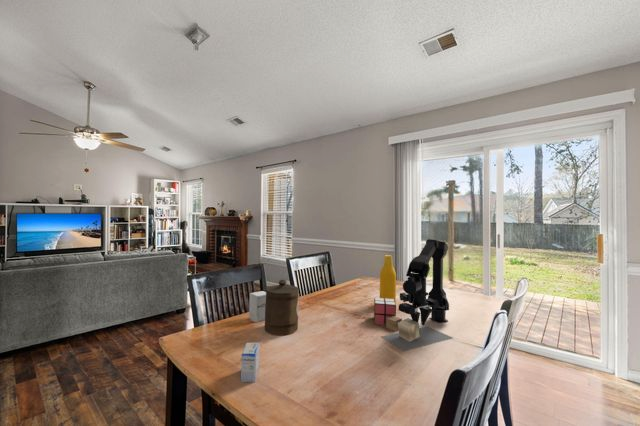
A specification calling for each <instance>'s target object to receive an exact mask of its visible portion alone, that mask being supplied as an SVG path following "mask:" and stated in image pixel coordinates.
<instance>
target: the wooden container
mask: <svg viewBox="0 0 640 426" xmlns="http://www.w3.org/2000/svg"><path fill="white" fill-rule="evenodd" d="M265 292H266V305H265V320H264V331H265V333H268V334H270V335H273V336H288V335H291V334H294V333H295V332H297V331H298V326H299V287H298V286H295V285H291V284H287V280H285V279H280V280H278V284H274V285H271V286H268V287H266V290H265Z"/></svg>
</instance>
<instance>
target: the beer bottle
mask: <svg viewBox="0 0 640 426" xmlns="http://www.w3.org/2000/svg"><path fill="white" fill-rule="evenodd" d="M393 263H394V262H393V255H390V254H385V255H384V258H383V265H382V268H381V270H380V272H379V298H384V299H394V300H395V304H396V305H397V294H396V293H397V292H396V291H397V274H396V273H397V272H396V271H395V270H396V269H395V268H394V265H393Z"/></svg>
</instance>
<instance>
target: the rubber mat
mask: <svg viewBox="0 0 640 426" xmlns="http://www.w3.org/2000/svg"><path fill="white" fill-rule="evenodd" d="M419 329H420V337H418V338H416V339H415V340H413V341H411V342H409V341H407V340H406V339H404V338H402V337H400V336H399V332H395V333H391V334H386V335H382V336H380V338H381V339H383V340H385V341H387V342H388V343H389V344H391V345H392V346H395V347H397V348H398V350H399V349H400V350H401V351H403V352H405V351H410V350H413V349H418V348H421V347H425V346H430V345H432V344H436V343H440V342H444V341H448V340H451V339H452V340H453V339H454V337H453V336H450V335H448V334H445V333H444V332H441V331H440V330H437V329H435V328H432V327H431V326H428V325H427V326H422V327H419Z"/></svg>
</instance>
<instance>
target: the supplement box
mask: <svg viewBox="0 0 640 426" xmlns="http://www.w3.org/2000/svg"><path fill="white" fill-rule="evenodd" d="M248 304H249V305H248V307H249V308H248V309H249V312H248V315H249V316H248V318H249V319H250V320H251V321H253V322H254V323H259V322H263V321H265V305H266V291H263V290H261V291H255V292H254V291H253V292H250V293H249V303H248Z"/></svg>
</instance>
